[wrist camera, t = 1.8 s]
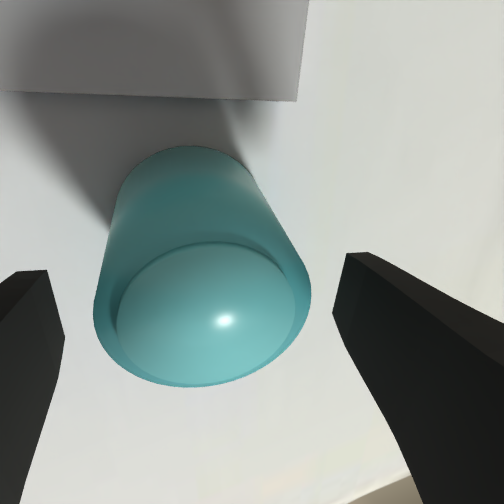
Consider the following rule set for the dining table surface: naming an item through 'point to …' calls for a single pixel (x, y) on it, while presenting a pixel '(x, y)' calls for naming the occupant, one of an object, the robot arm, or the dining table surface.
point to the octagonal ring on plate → (154, 47)
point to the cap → (197, 273)
